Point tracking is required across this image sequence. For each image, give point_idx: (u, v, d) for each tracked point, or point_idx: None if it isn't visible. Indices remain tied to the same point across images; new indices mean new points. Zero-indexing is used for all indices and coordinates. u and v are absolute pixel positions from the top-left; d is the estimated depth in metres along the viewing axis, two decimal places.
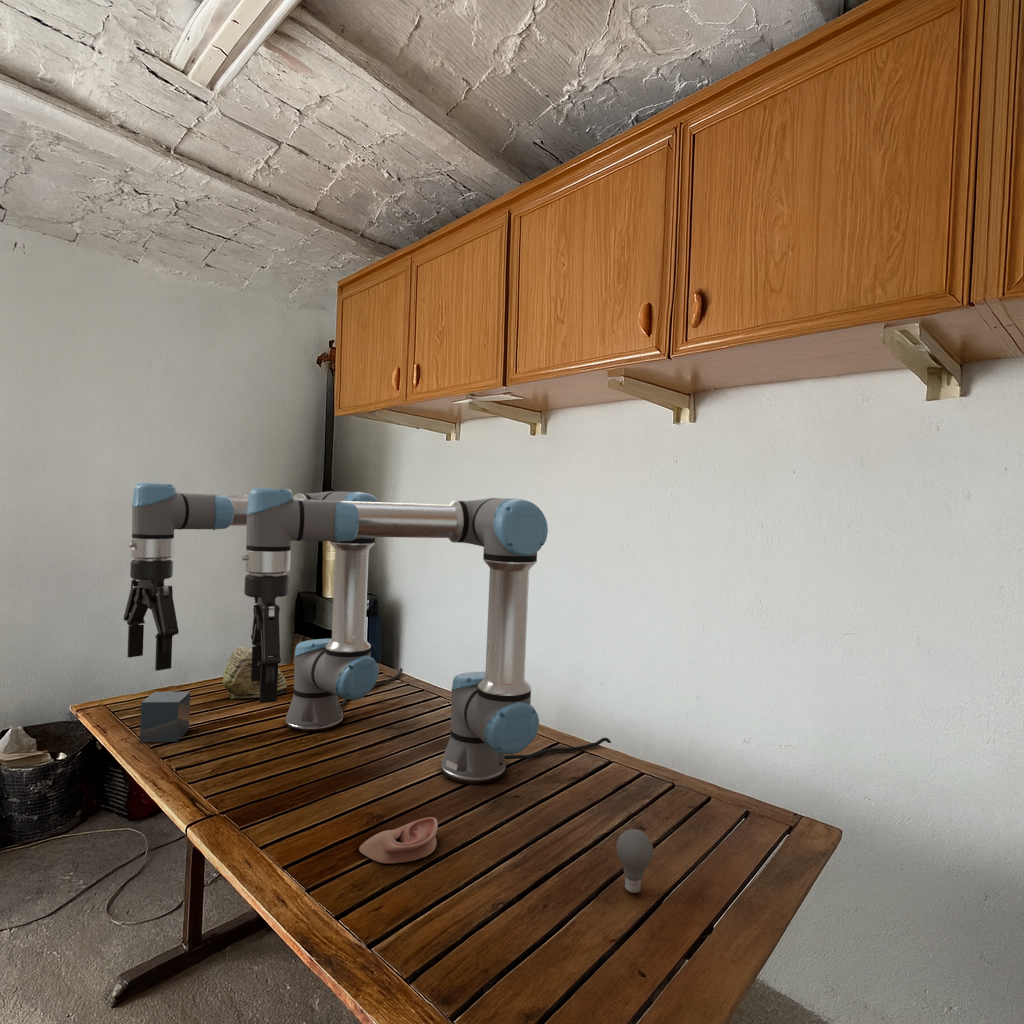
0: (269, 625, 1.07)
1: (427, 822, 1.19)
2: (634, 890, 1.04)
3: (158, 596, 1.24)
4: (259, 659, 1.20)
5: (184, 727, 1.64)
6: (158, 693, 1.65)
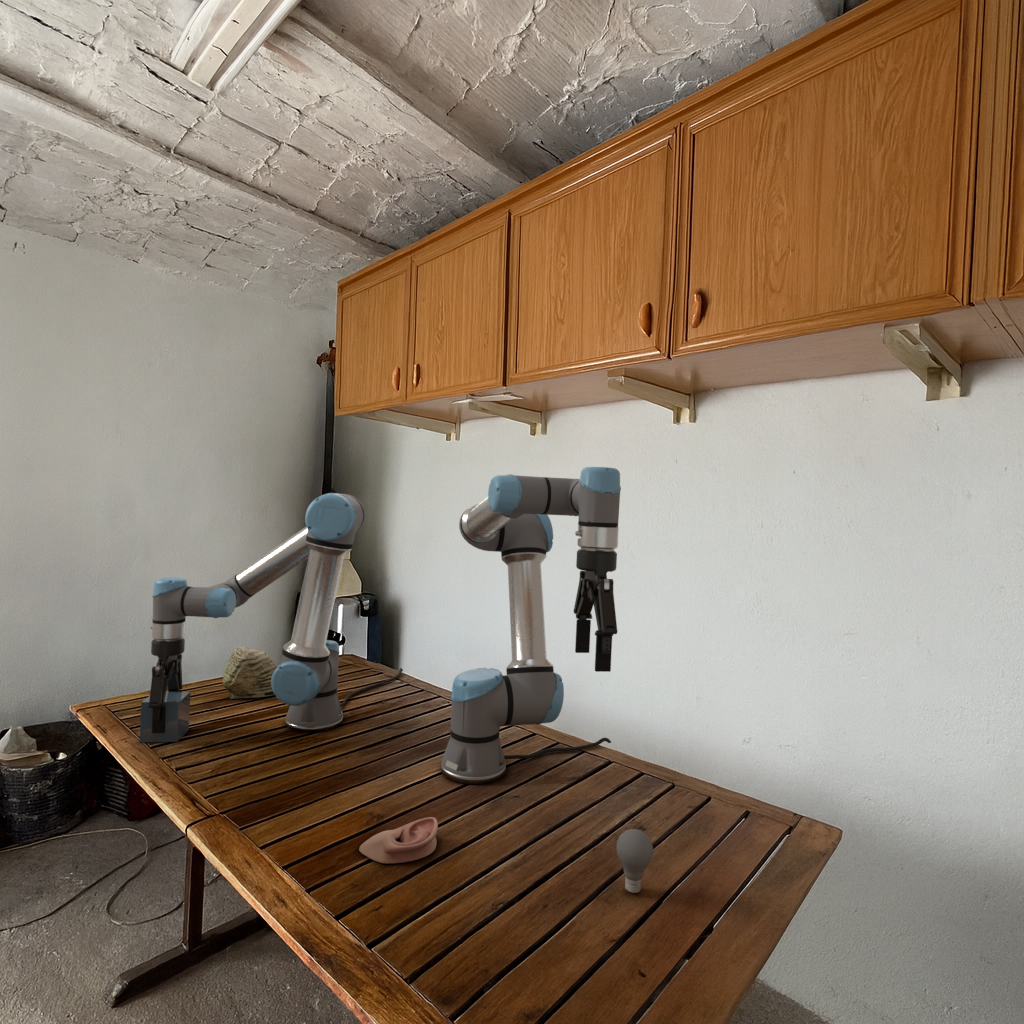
0: (605, 597, 1.12)
1: (427, 822, 1.19)
2: (634, 890, 1.04)
3: None
4: (583, 632, 1.26)
5: (184, 727, 1.64)
6: None
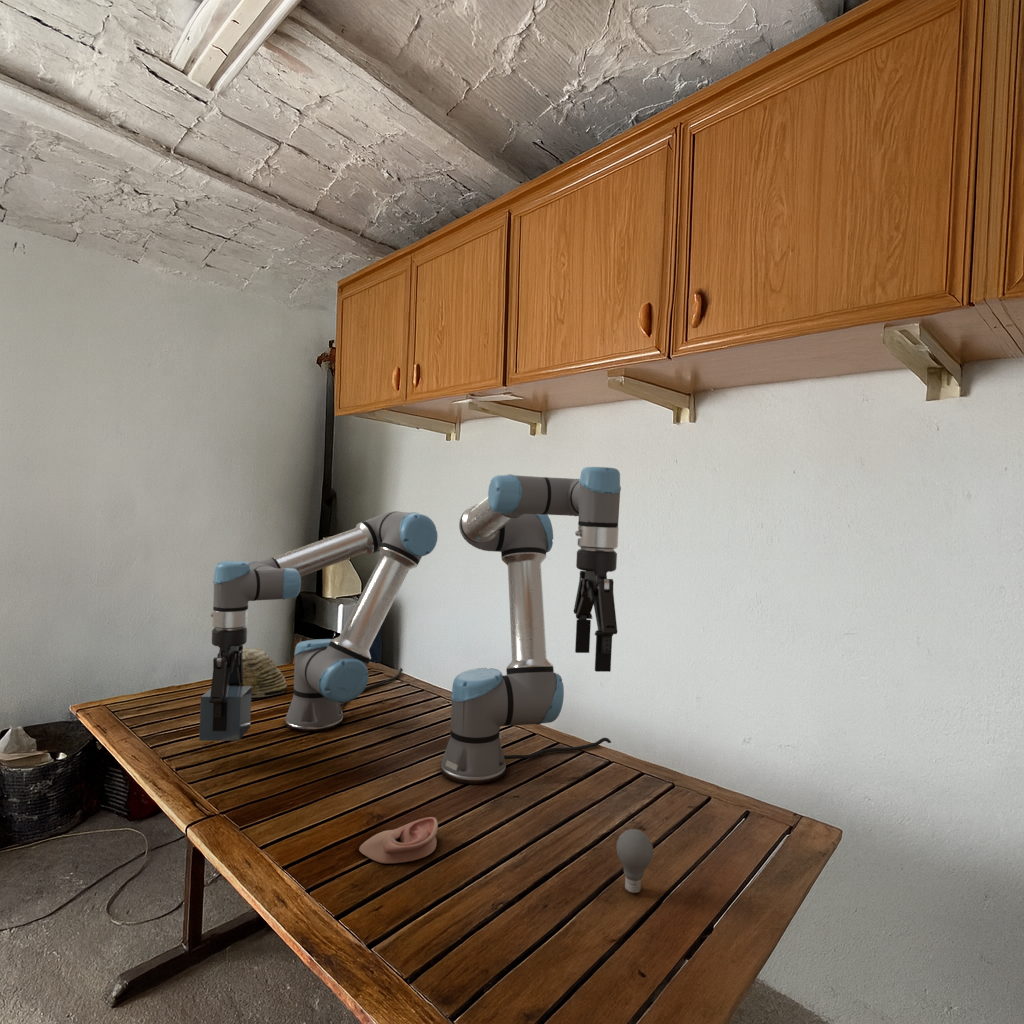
0: (605, 597, 1.12)
1: (427, 822, 1.19)
2: (634, 890, 1.04)
3: None
4: (583, 632, 1.26)
5: (245, 724, 1.50)
6: None
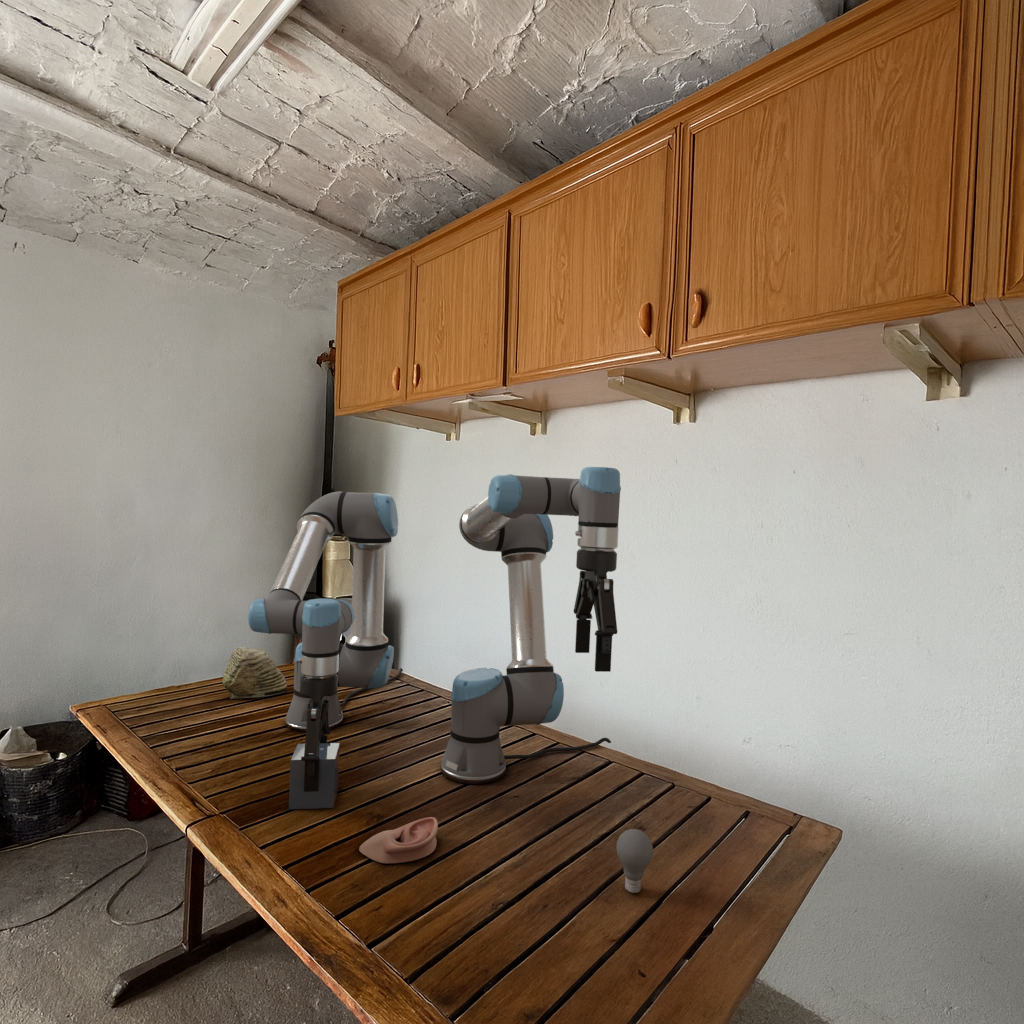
0: (605, 597, 1.12)
1: (427, 822, 1.19)
2: (634, 890, 1.04)
3: None
4: (583, 632, 1.26)
5: (336, 787, 1.34)
6: (303, 746, 1.35)
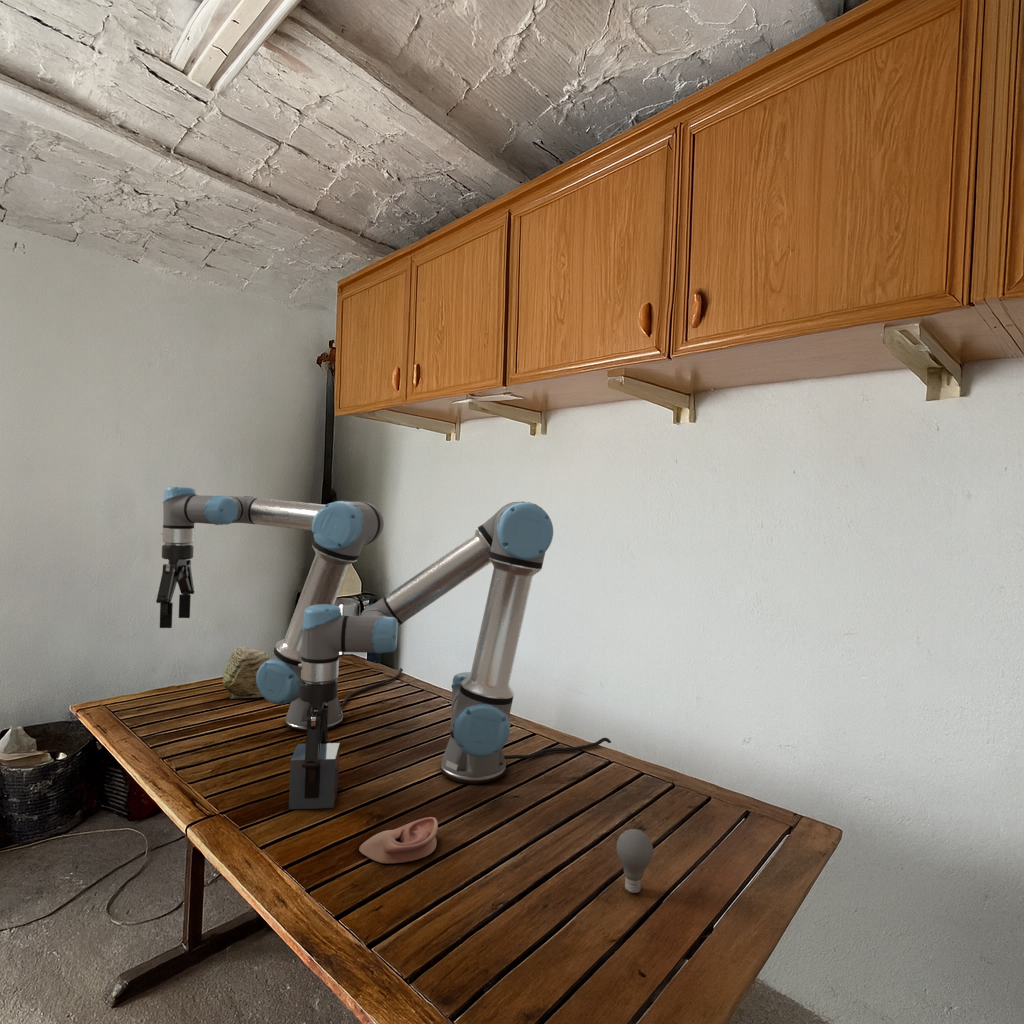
0: (311, 734, 1.26)
1: (427, 822, 1.19)
2: (634, 890, 1.04)
3: None
4: None
5: (336, 787, 1.34)
6: (303, 746, 1.35)
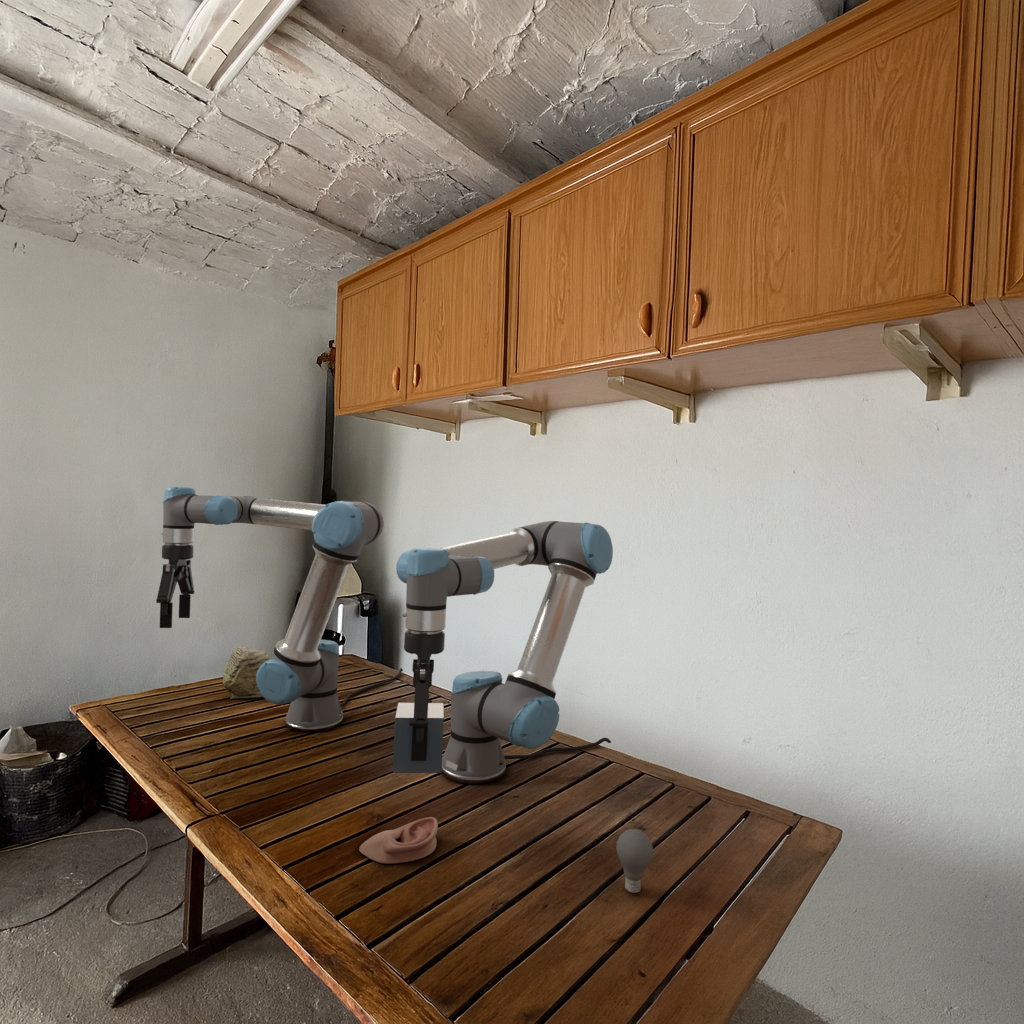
0: (419, 688, 1.12)
1: (427, 822, 1.19)
2: (634, 890, 1.04)
3: None
4: None
5: None
6: (405, 705, 1.22)
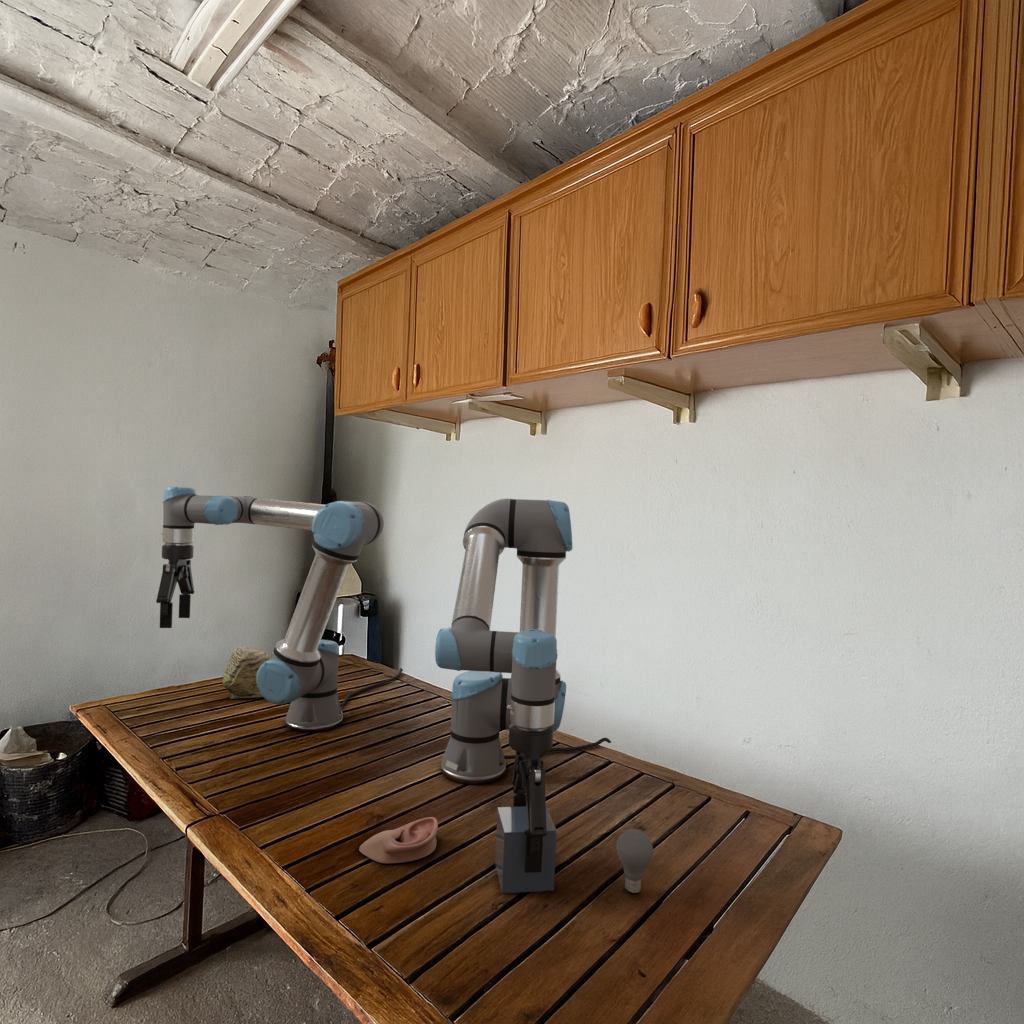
0: (535, 792, 1.01)
1: (427, 822, 1.19)
2: (634, 890, 1.04)
3: None
4: None
5: None
6: (506, 811, 1.11)
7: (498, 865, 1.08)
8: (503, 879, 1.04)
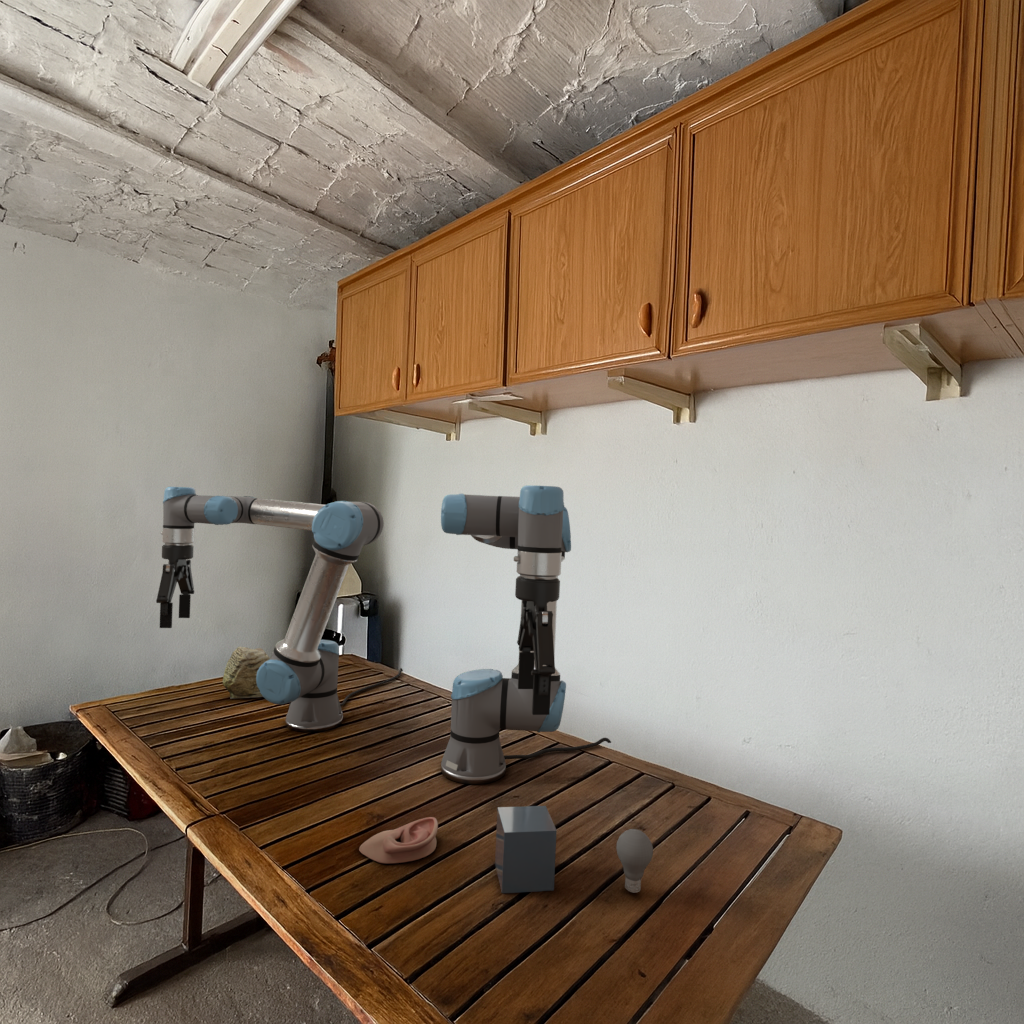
0: (543, 632, 1.00)
1: (427, 822, 1.19)
2: (634, 890, 1.04)
3: None
4: (526, 666, 1.14)
5: None
6: (506, 811, 1.11)
7: (498, 865, 1.08)
8: (503, 879, 1.04)
